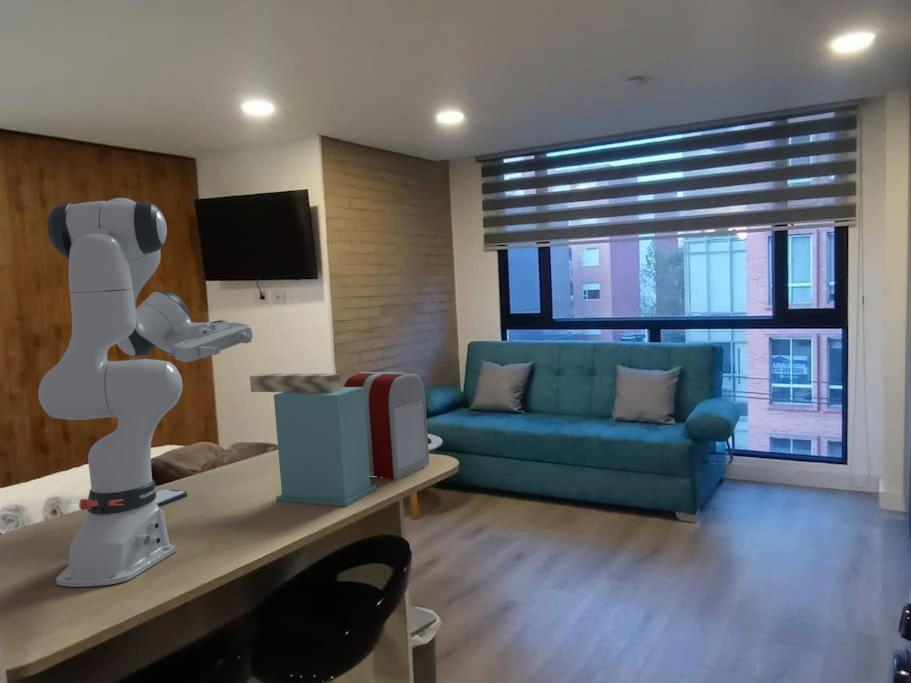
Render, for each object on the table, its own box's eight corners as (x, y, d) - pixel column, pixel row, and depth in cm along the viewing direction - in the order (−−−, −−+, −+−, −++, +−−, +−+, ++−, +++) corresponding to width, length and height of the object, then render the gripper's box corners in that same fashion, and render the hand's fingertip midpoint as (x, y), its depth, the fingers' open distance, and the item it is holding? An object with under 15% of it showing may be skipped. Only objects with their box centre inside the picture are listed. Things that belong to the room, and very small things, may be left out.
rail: (341, 389, 173) (339, 373, 172) (332, 392, 169) (330, 375, 169) (261, 389, 182) (260, 373, 182) (251, 391, 179) (249, 376, 178)
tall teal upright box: (376, 489, 178) (369, 386, 175) (346, 506, 165) (338, 396, 162) (309, 484, 185) (301, 386, 183) (276, 500, 173) (267, 395, 170)
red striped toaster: (396, 480, 185) (389, 377, 182) (344, 474, 194) (337, 376, 192) (431, 464, 199) (425, 369, 196) (381, 459, 208) (374, 368, 206)
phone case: (137, 518, 167) (190, 497, 182) (136, 511, 167) (189, 491, 182) (112, 515, 171) (165, 494, 186) (111, 508, 171) (164, 488, 185)
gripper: (159, 340, 171) (193, 345, 163) (229, 317, 187) (263, 321, 179) (165, 365, 173) (199, 371, 165) (234, 340, 189) (267, 345, 181)
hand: (233, 345), depth 172 cm, fingers open, 8 cm apart
